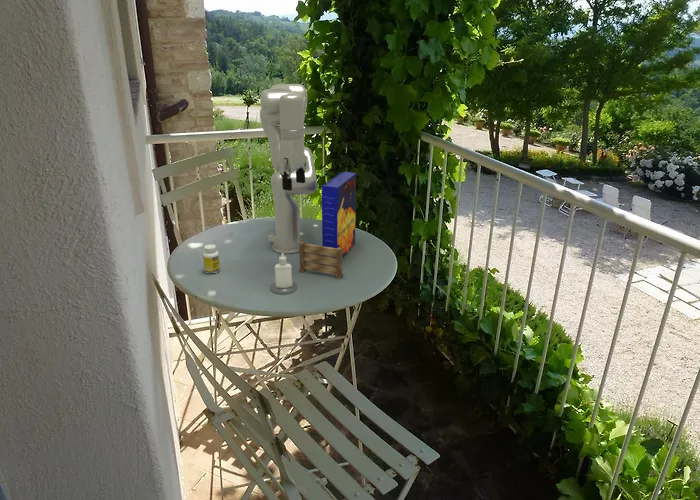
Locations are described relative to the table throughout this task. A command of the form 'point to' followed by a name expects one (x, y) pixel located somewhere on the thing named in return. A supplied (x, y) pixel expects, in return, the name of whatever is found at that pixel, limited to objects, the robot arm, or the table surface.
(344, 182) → the cereal box
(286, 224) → the robot arm
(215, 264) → the supplement bottle
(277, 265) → the eye dropper bottle
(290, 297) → the table surface
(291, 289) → the coaster
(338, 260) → the brown piece
